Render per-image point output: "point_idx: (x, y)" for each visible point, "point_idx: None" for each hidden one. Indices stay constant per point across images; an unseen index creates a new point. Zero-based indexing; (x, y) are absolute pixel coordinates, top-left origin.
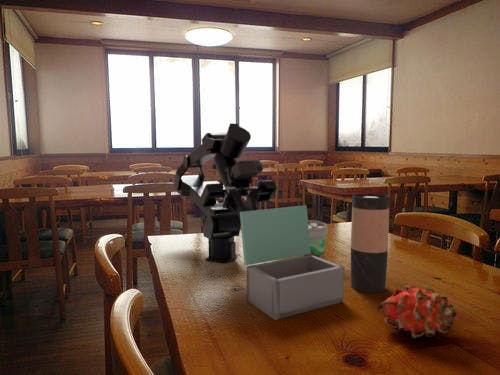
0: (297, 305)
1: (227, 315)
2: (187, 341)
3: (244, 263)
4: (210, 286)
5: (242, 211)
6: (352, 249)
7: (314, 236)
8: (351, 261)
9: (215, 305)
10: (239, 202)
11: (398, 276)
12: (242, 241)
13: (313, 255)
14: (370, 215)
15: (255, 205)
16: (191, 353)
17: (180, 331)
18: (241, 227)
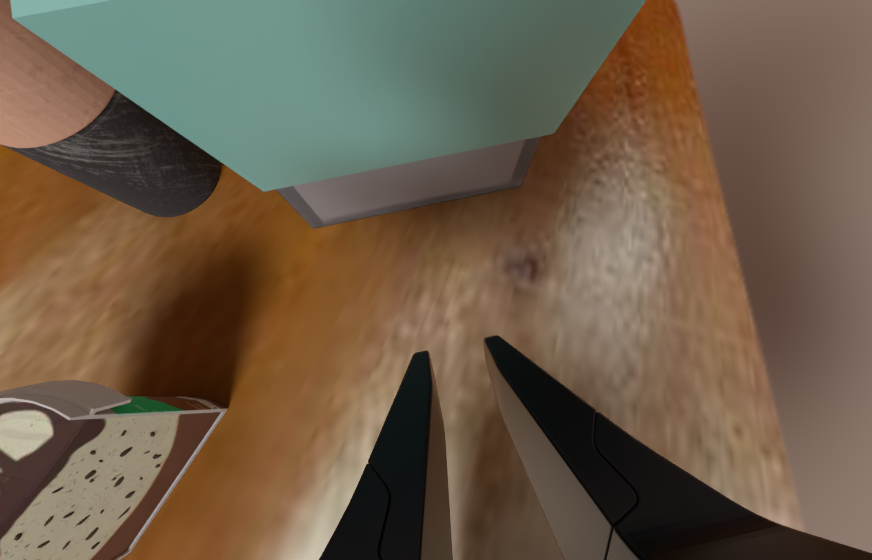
0: None
1: (583, 127)
2: (674, 55)
3: (555, 128)
4: (606, 315)
5: (566, 392)
6: (115, 96)
7: (71, 381)
8: (155, 139)
9: (605, 182)
10: (655, 481)
11: (29, 220)
12: (595, 70)
13: (158, 396)
14: None
15: (376, 477)
16: (666, 21)
17: (689, 90)
18: (636, 7)
